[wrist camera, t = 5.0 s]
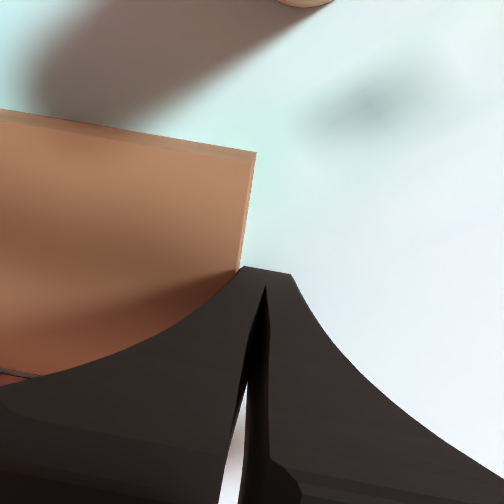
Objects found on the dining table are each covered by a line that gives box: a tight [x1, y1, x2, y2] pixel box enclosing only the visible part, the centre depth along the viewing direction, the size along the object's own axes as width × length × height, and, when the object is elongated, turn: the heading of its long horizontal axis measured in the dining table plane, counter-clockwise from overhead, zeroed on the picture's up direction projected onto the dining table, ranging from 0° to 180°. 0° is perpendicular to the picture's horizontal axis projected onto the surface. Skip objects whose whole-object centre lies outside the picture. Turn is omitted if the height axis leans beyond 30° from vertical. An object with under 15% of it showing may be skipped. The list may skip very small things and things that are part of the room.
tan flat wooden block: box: [0, 109, 257, 375], centre depth 11 cm, size 7×9×2 cm
